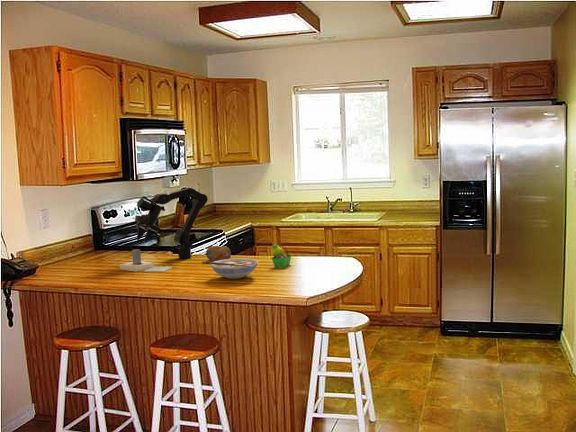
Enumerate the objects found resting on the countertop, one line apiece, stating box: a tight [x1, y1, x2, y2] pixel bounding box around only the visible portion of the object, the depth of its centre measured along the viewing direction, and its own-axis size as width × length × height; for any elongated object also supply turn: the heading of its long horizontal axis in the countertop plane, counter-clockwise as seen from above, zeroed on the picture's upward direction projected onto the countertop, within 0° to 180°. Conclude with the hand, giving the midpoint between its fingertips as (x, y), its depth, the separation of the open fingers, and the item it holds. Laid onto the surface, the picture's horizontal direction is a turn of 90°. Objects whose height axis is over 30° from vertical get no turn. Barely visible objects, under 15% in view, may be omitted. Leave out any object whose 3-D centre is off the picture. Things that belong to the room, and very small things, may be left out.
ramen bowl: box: [202, 257, 259, 280], centre depth 298 cm, size 25×23×8 cm
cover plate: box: [119, 260, 155, 272], centre depth 332 cm, size 12×13×2 cm
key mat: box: [143, 265, 174, 273], centre depth 325 cm, size 11×11×1 cm
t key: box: [131, 249, 142, 265], centre depth 331 cm, size 3×6×10 cm, turn 51°
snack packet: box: [205, 245, 232, 262], centre depth 344 cm, size 15×3×8 cm, turn 62°
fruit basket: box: [271, 244, 292, 269], centre depth 322 cm, size 11×9×11 cm
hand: (141, 240), depth 341 cm, fingers open, 9 cm apart
